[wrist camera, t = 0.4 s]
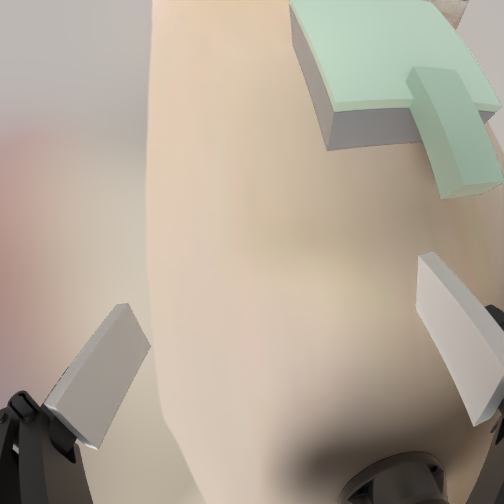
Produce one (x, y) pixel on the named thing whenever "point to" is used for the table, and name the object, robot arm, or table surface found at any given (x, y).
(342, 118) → the tub
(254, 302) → the table surface
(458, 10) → the planter
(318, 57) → the lid
